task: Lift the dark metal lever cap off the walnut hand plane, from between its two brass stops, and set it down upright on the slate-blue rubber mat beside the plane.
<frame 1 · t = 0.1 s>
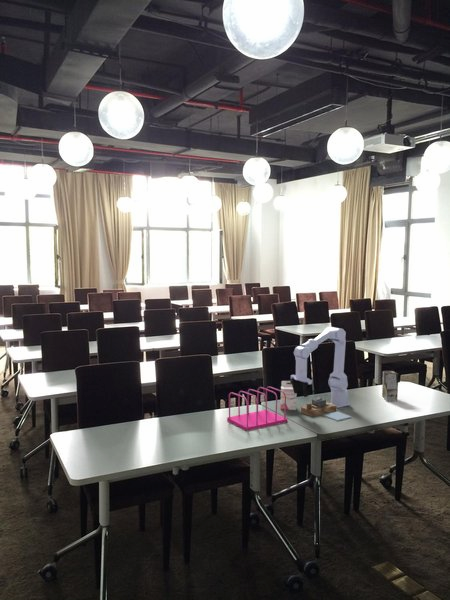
hand: (300, 394, 263), 10 cm above the table, tool pointing down, fingers open, 7 cm apart
file sorter: (257, 421, 251), on the table
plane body: (318, 411, 267), on the table
rubber mat: (337, 416, 259), on the table
ink cartridge box: (288, 408, 273), on the table
coffee box: (389, 399, 291), on the table
lever cap: (318, 406, 267), point 3 cm above the table, touching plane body
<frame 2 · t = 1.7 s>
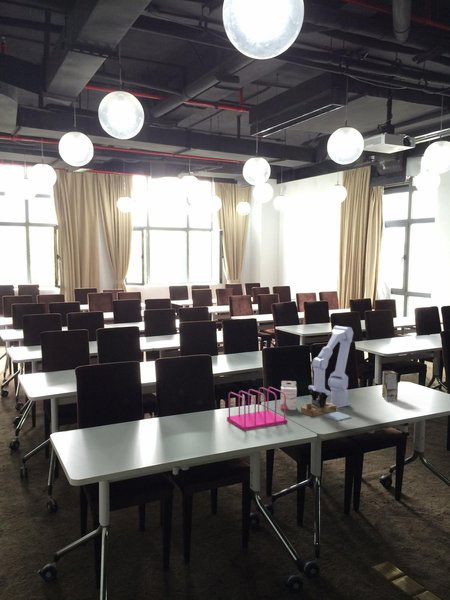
hand: (318, 405, 267), 3 cm above the table, tool pointing down, fingers closed on lever cap, 4 cm apart
lever cap: (318, 406, 267), point 3 cm above the table, touching gripper, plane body
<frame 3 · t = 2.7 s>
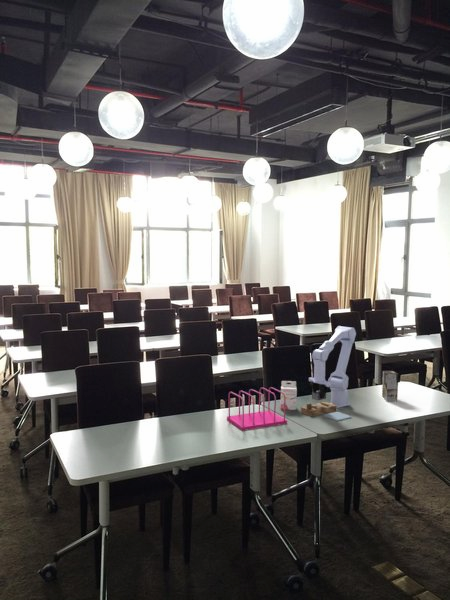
hand: (319, 397, 267), 8 cm above the table, tool pointing down, fingers closed on lever cap, 4 cm apart
lever cap: (318, 398, 266), point 7 cm above the table, touching gripper
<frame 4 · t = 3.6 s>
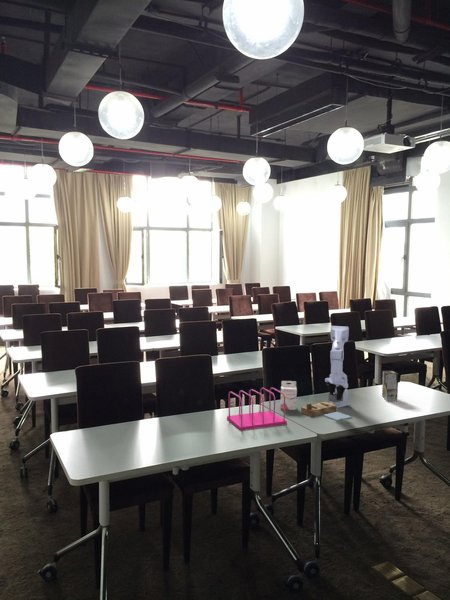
hand: (335, 398, 258), 9 cm above the table, tool pointing down, fingers closed on lever cap, 4 cm apart
lever cap: (335, 400, 259), point 8 cm above the table, touching gripper
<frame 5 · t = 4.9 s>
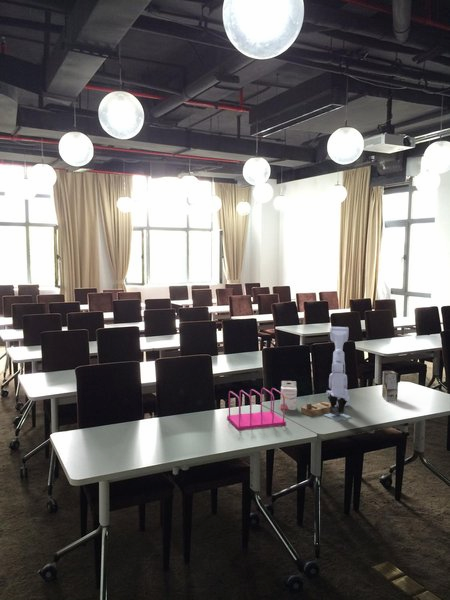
hand: (337, 411, 258), 3 cm above the table, tool pointing down, fingers closed on lever cap, 4 cm apart
lever cap: (337, 413, 258), point 2 cm above the table, touching gripper
when the fingers open (3 cm above the table, at t = 5.8 s): lever cap stays where it is, resting on rubber mat.
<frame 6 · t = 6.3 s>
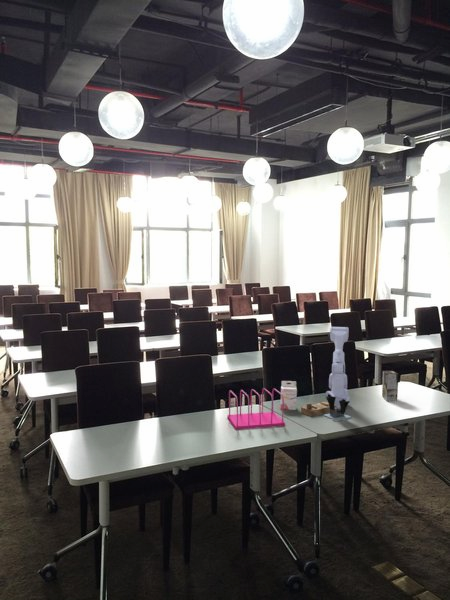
hand: (337, 411, 258), 3 cm above the table, tool pointing down, fingers open, 7 cm apart
lever cap: (337, 415, 259), point 1 cm above the table, touching rubber mat
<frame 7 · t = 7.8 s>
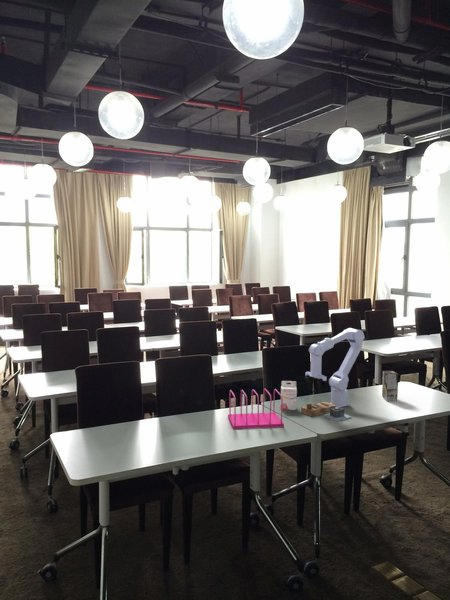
hand: (315, 391, 273), 9 cm above the table, tool pointing down, fingers open, 7 cm apart
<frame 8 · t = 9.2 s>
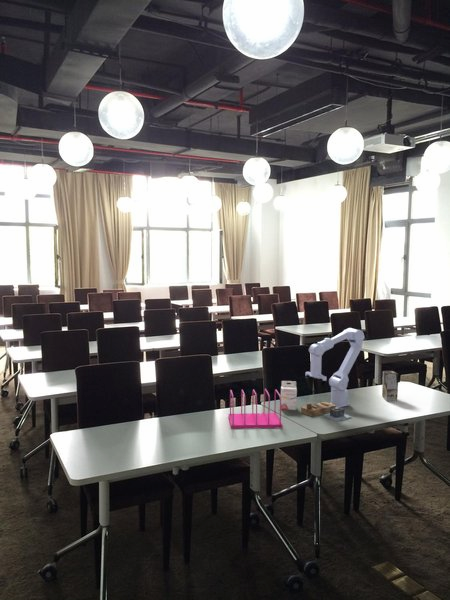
hand: (315, 391, 273), 9 cm above the table, tool pointing down, fingers open, 7 cm apart
at the end: lever cap inside the target area on the rubber mat (0.1 cm from its centre), point 0.6 cm above the rubber mat's base; lever cap tilted 0°; the gripper is holding nothing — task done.
